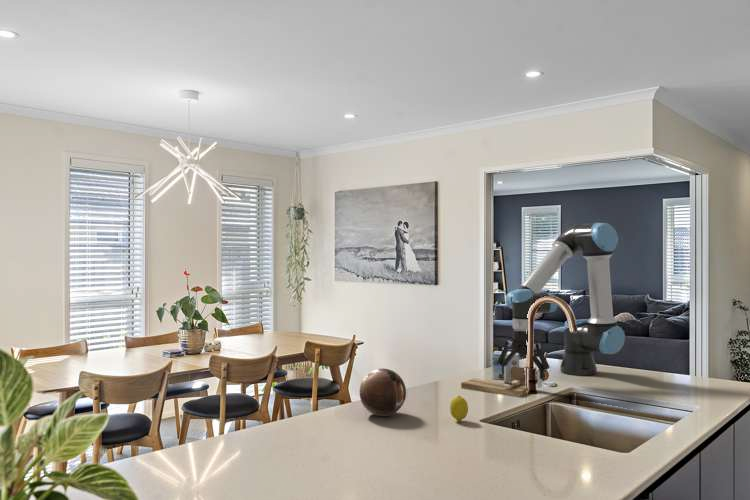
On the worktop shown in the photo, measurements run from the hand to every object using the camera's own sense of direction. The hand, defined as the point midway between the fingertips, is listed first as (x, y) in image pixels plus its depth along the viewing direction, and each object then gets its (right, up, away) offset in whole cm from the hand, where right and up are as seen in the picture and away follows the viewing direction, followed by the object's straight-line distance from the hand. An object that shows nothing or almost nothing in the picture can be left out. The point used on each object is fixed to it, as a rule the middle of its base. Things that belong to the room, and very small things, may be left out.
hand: (522, 385), depth 226 cm
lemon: (-31, -2, -42) cm, 52 cm away
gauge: (-4, -2, -3) cm, 5 cm away
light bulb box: (-2, -2, +20) cm, 20 cm away
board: (-11, -2, -1) cm, 11 cm away
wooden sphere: (-54, -2, -35) cm, 65 cm away
